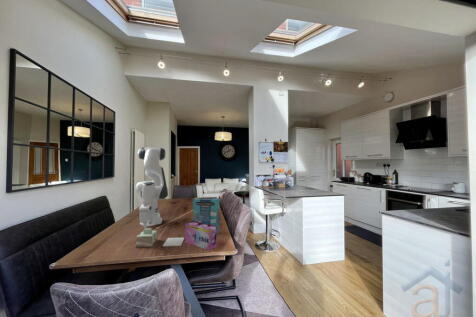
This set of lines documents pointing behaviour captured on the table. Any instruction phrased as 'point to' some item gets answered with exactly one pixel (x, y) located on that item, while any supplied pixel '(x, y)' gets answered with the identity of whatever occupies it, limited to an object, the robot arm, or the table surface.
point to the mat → (174, 242)
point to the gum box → (201, 235)
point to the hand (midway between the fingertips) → (147, 226)
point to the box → (146, 240)
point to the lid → (148, 232)
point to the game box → (206, 211)
